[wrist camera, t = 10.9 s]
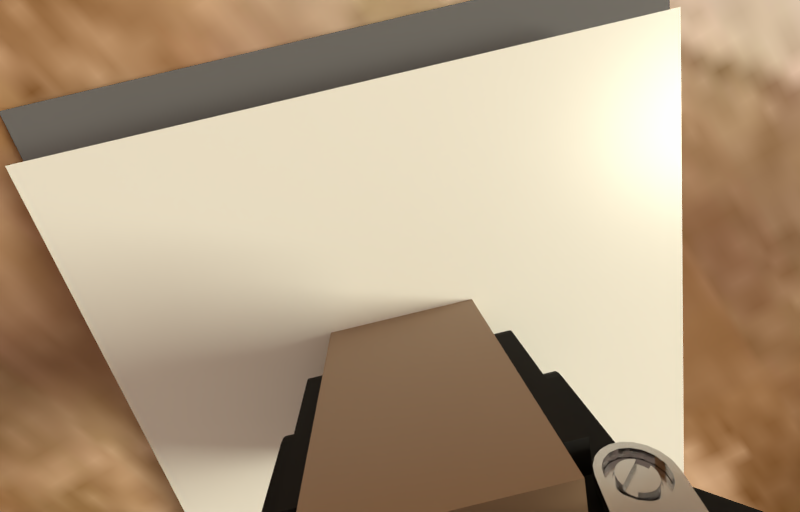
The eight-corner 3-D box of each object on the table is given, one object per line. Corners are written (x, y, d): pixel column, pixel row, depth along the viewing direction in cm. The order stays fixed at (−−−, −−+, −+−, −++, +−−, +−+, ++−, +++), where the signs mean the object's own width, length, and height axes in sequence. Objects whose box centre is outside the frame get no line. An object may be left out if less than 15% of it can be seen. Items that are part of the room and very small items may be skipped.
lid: (645, 21, 10) (1194, -206, 3) (660, 484, 15) (903, 776, 8) (45, 162, 10) (-614, 217, 3) (251, 584, 15) (151, 962, 8)
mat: (654, -38, 12) (669, -46, 12) (667, 466, 18) (677, 477, 18) (16, 112, 12) (-2, 111, 11) (239, 569, 18) (235, 584, 17)
